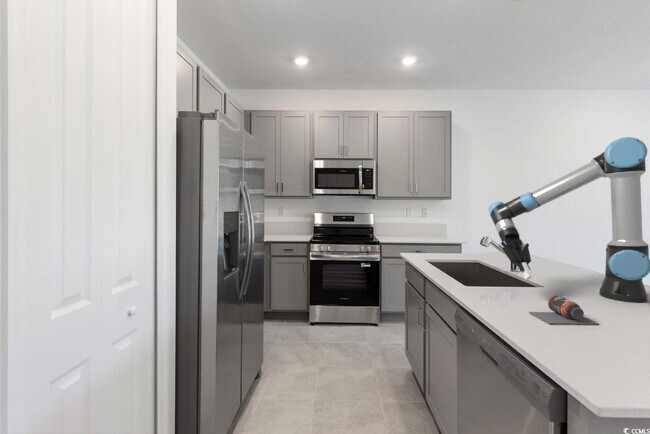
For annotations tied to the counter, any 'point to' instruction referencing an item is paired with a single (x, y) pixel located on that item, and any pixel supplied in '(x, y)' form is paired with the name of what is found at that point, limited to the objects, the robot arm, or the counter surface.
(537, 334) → the counter surface
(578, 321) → the mat
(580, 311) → the supplement bottle
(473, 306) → the counter surface
